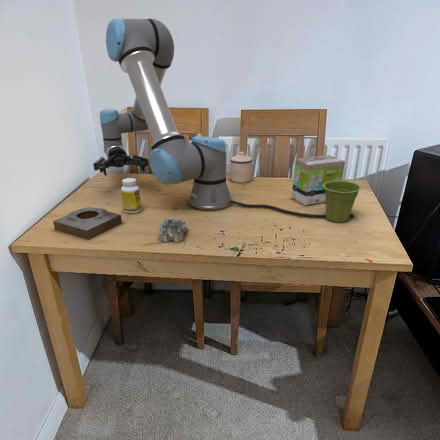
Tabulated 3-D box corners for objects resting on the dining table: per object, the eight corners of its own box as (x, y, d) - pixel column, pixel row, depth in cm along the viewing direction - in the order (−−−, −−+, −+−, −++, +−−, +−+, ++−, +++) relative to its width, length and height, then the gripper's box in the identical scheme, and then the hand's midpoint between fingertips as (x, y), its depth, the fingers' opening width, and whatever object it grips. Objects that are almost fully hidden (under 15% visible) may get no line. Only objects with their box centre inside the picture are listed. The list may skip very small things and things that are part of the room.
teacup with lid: (250, 176, 179) (251, 149, 173) (252, 183, 172) (253, 154, 165) (223, 177, 179) (223, 149, 173) (223, 183, 172) (223, 155, 165)
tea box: (305, 206, 148) (310, 165, 140) (290, 198, 155) (294, 158, 148) (339, 200, 153) (346, 160, 145) (323, 192, 161) (328, 153, 153)
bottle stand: (124, 222, 137) (123, 213, 135) (88, 239, 125) (86, 230, 124) (89, 213, 144) (88, 205, 142) (52, 229, 132) (50, 220, 131)
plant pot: (311, 215, 140) (315, 183, 134) (340, 210, 144) (345, 178, 138) (333, 228, 131) (338, 193, 125) (362, 222, 135) (369, 188, 129)
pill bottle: (139, 213, 143) (136, 182, 137) (122, 213, 143) (117, 182, 137) (143, 207, 148) (139, 177, 142) (126, 207, 148) (122, 177, 143)
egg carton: (181, 243, 123) (180, 230, 120) (157, 242, 123) (155, 229, 121) (188, 228, 132) (187, 216, 129) (165, 227, 132) (164, 215, 130)
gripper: (148, 162, 170) (159, 176, 153) (86, 168, 163) (90, 184, 146) (146, 143, 166) (157, 156, 149) (82, 148, 159) (86, 162, 142)
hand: (124, 170), depth 147 cm, fingers open, 13 cm apart
